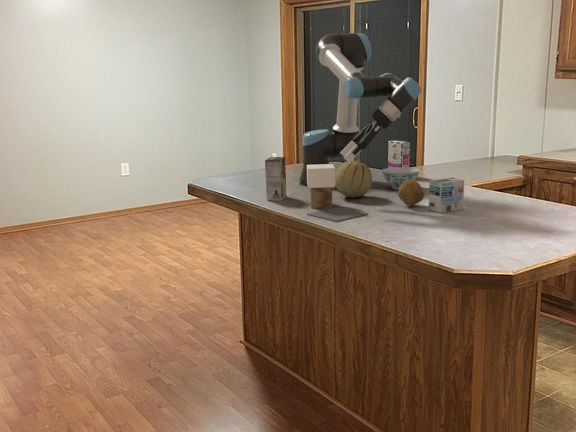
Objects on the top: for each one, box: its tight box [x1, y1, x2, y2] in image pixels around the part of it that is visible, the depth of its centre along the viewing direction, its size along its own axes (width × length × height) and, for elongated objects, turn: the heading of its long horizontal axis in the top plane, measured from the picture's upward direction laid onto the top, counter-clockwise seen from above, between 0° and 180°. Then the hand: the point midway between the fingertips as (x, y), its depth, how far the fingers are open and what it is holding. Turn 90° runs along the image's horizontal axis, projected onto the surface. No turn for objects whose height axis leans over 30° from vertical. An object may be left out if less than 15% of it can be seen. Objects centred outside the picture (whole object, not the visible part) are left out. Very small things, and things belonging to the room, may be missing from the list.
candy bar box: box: [387, 140, 411, 168], centre depth 284 cm, size 11×5×16 cm, turn 25°
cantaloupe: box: [335, 158, 373, 199], centre depth 241 cm, size 15×15×15 cm
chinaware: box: [382, 167, 420, 190], centre depth 257 cm, size 15×15×8 cm
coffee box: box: [264, 156, 287, 202], centre depth 243 cm, size 9×6×16 cm
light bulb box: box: [428, 177, 465, 214], centre depth 216 cm, size 11×7×11 cm, turn 117°
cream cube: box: [306, 163, 336, 189], centre depth 227 cm, size 10×10×7 cm
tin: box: [309, 187, 333, 209], centre depth 228 cm, size 8×8×14 cm
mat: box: [306, 206, 369, 223], centre depth 214 cm, size 15×15×1 cm
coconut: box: [397, 179, 425, 207], centre depth 224 cm, size 9×9×10 cm
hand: (344, 158), depth 225 cm, fingers open, 13 cm apart
